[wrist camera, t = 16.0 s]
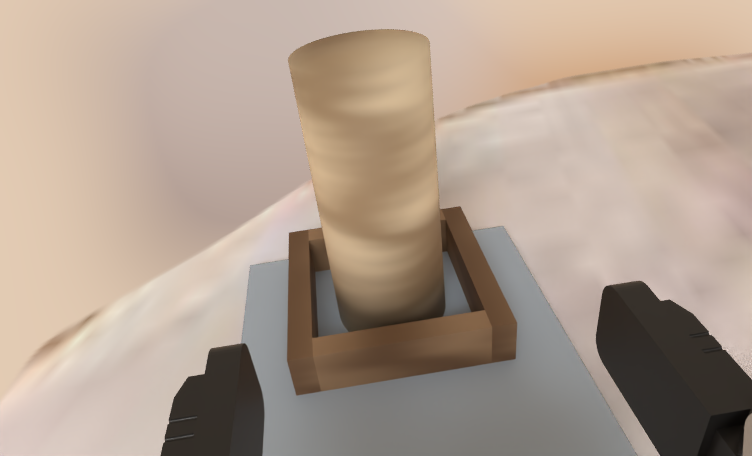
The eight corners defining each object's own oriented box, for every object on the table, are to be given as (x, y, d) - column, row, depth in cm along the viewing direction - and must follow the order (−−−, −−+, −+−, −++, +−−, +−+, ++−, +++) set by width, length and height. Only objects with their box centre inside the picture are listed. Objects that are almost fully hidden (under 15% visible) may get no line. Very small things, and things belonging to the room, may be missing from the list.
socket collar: (460, 237, 30) (460, 206, 29) (515, 359, 23) (517, 323, 22) (296, 263, 30) (289, 232, 29) (296, 395, 22) (286, 360, 21)
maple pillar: (432, 265, 29) (415, 22, 22) (457, 333, 24) (444, 59, 18) (335, 281, 28) (288, 41, 22) (343, 353, 24) (287, 83, 18)
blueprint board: (503, 237, 31) (503, 225, 31) (798, 761, 13) (809, 750, 12) (253, 277, 31) (250, 265, 30) (191, 886, 12) (180, 878, 12)
